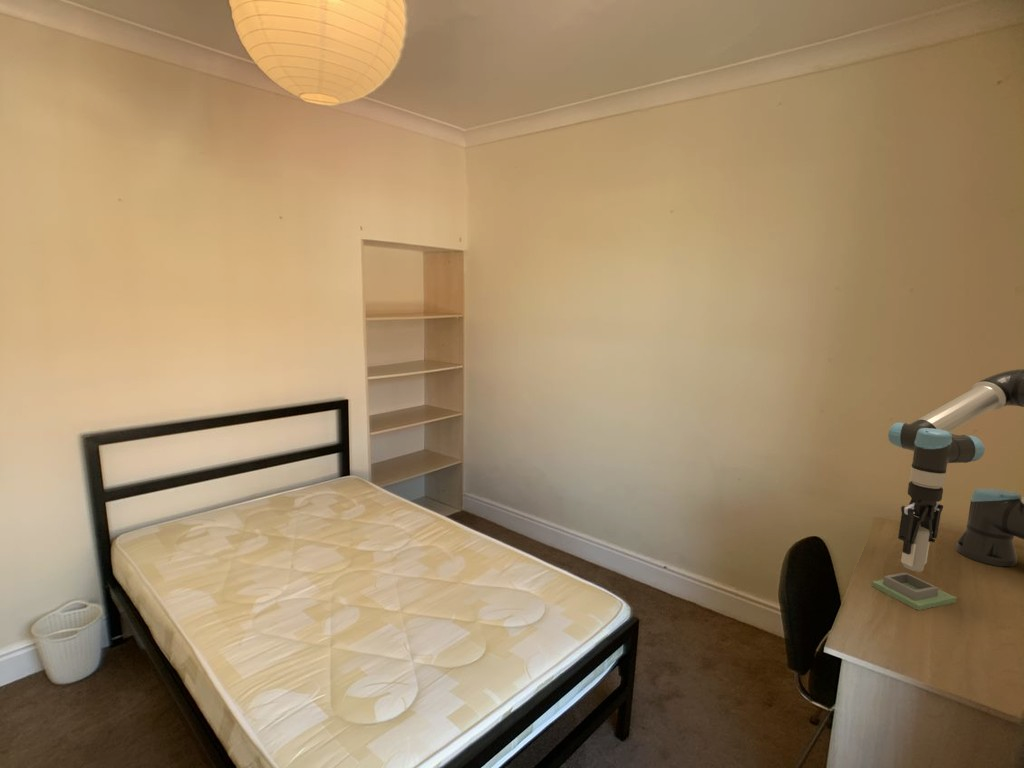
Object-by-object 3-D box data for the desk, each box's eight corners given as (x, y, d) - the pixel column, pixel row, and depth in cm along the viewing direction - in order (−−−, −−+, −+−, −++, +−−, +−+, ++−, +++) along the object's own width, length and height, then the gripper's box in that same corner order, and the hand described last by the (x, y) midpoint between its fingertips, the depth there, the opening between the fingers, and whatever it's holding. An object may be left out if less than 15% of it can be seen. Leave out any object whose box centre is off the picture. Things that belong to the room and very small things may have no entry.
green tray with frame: (907, 579, 156) (909, 566, 156) (955, 602, 144) (957, 589, 144) (871, 586, 152) (873, 573, 151) (918, 610, 140) (920, 597, 139)
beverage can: (926, 574, 143) (933, 533, 141) (906, 570, 145) (912, 530, 143) (919, 566, 148) (925, 526, 146) (899, 562, 149) (905, 523, 148)
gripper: (933, 477, 149) (921, 553, 152) (889, 481, 143) (877, 560, 147) (963, 486, 142) (949, 565, 145) (917, 491, 136) (904, 573, 140)
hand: (913, 562), depth 146 cm, fingers closed on beverage can, 5 cm apart
